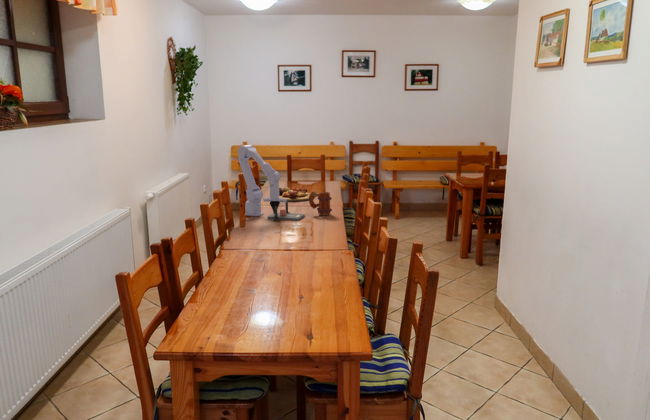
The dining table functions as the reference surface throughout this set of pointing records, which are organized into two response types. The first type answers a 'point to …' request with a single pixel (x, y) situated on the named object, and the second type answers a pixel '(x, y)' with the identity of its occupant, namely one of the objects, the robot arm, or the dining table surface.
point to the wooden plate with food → (294, 194)
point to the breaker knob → (283, 212)
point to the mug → (321, 202)
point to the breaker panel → (287, 216)
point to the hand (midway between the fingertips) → (275, 213)
